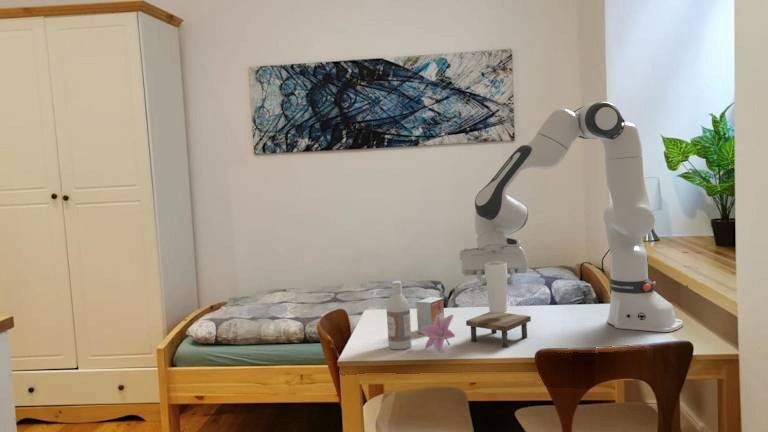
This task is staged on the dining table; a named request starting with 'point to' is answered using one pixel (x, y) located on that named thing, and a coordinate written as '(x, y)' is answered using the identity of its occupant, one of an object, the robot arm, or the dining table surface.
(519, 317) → the shelf stand
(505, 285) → the white tall cup
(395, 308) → the bath foam
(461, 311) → the dining table surface
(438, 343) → the lily
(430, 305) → the small box
